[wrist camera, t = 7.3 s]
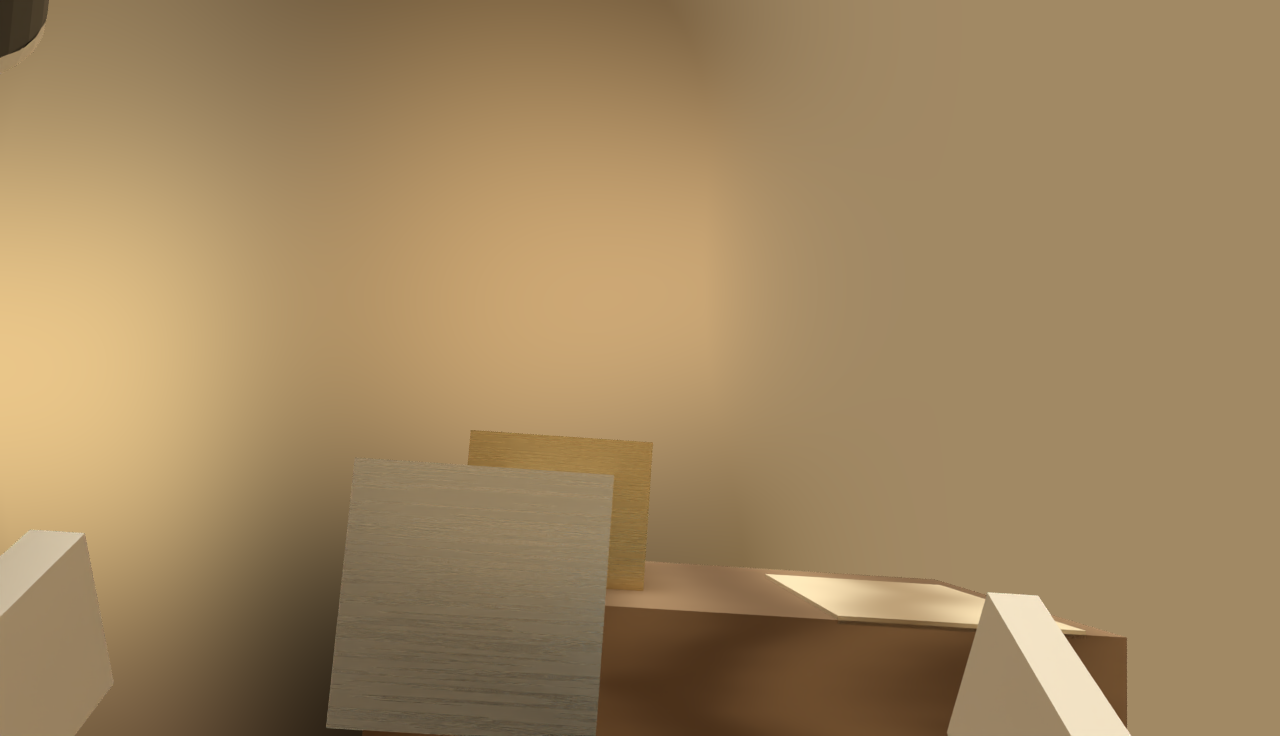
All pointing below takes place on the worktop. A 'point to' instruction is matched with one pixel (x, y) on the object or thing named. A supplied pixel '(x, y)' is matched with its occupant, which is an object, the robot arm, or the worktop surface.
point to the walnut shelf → (798, 654)
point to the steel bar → (486, 585)
